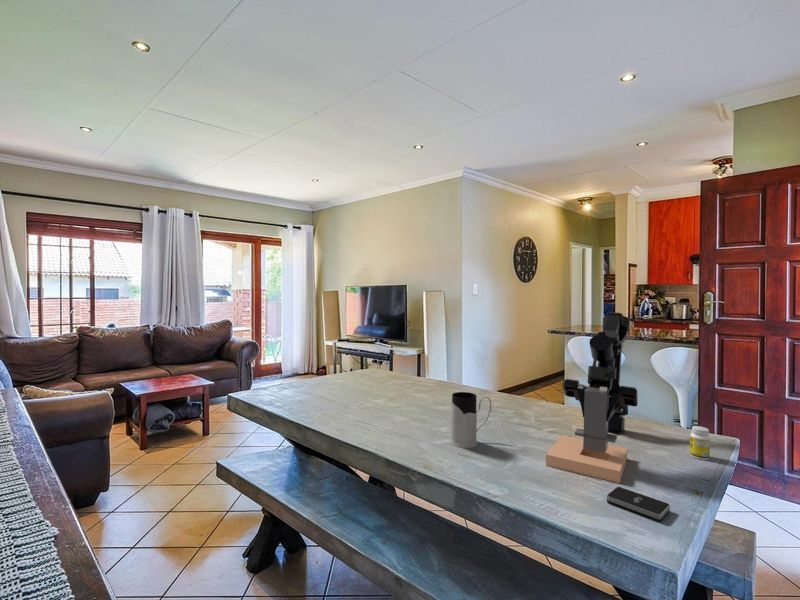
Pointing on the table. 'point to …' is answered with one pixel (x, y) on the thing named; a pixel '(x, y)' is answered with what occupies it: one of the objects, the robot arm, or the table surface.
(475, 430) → the grey mug
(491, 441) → the table surface
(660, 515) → the external hard drive
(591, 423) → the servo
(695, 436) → the supplement bottle
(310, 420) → the table surface
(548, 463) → the plate
